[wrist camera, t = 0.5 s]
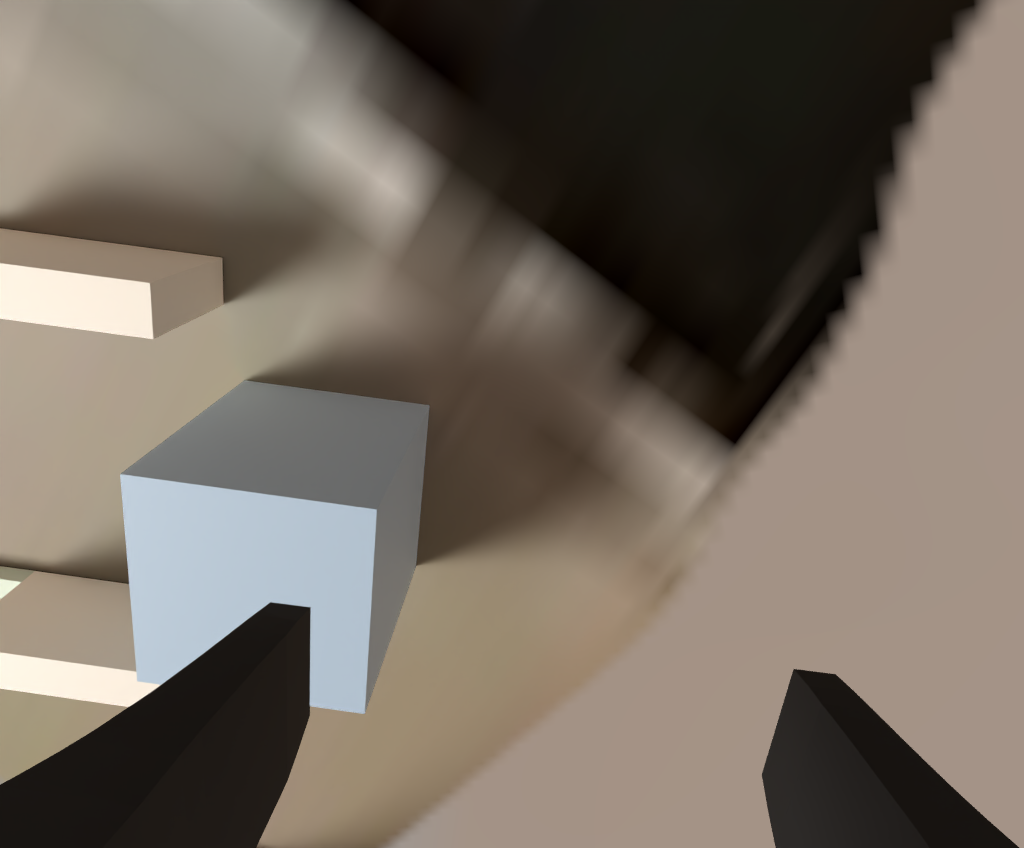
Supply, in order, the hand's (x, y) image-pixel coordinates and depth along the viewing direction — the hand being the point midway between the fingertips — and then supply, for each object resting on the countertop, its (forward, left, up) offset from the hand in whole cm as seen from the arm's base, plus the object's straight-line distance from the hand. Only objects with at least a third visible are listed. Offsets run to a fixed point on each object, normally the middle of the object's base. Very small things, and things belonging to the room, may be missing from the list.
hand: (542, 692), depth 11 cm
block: (-2, +6, -10) cm, 11 cm away
